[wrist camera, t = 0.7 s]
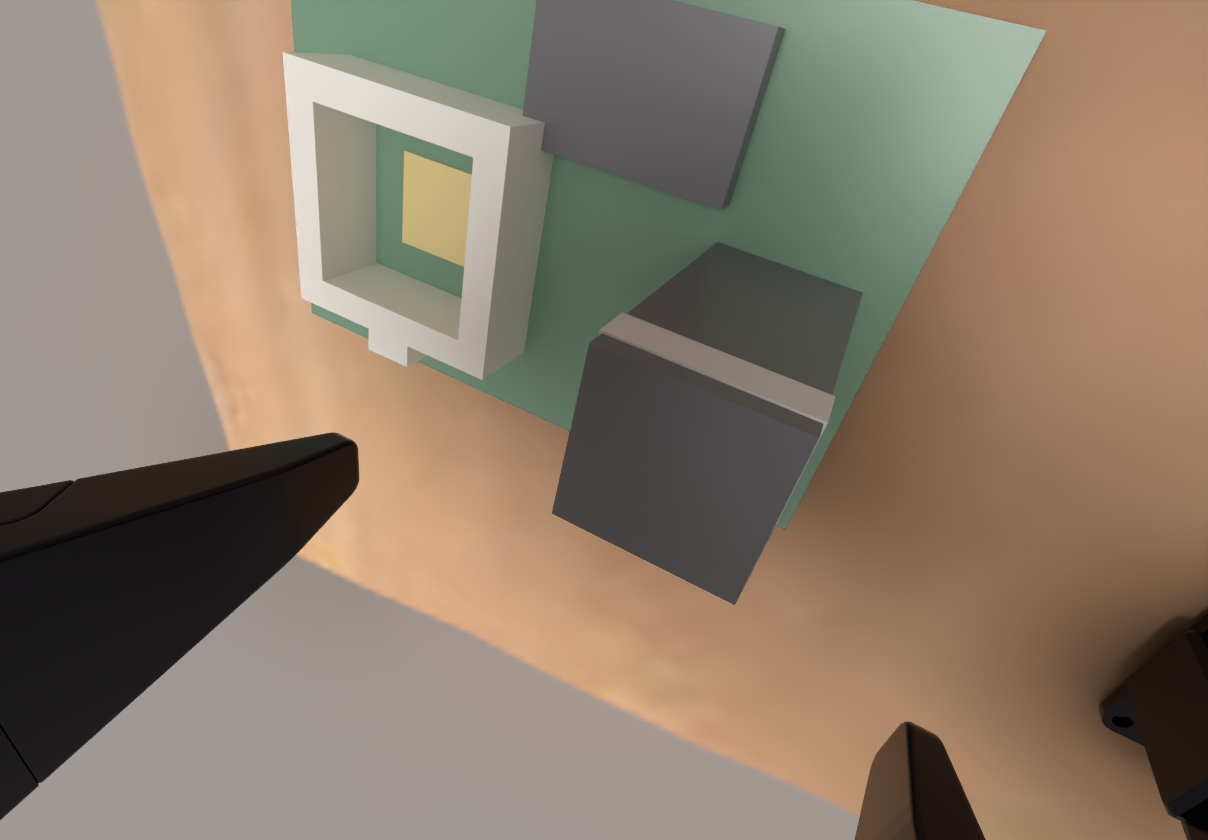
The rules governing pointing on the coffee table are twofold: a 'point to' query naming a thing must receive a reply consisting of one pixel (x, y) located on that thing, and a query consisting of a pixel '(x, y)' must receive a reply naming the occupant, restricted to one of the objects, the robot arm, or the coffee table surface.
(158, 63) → the coffee table surface
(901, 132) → the circuit board
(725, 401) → the black plug
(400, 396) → the coffee table surface
